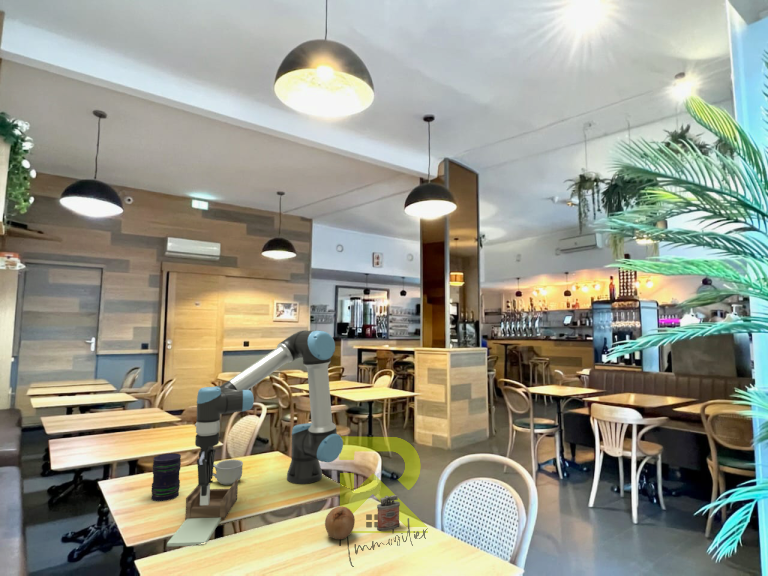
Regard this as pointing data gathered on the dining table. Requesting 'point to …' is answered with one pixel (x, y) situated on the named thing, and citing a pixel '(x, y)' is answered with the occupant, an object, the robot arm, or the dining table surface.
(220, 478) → the teacup
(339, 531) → the brown rounded piece
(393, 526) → the lighter
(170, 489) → the dark blue barrel
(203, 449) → the robot arm
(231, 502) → the box
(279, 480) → the dining table surface
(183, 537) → the lid
